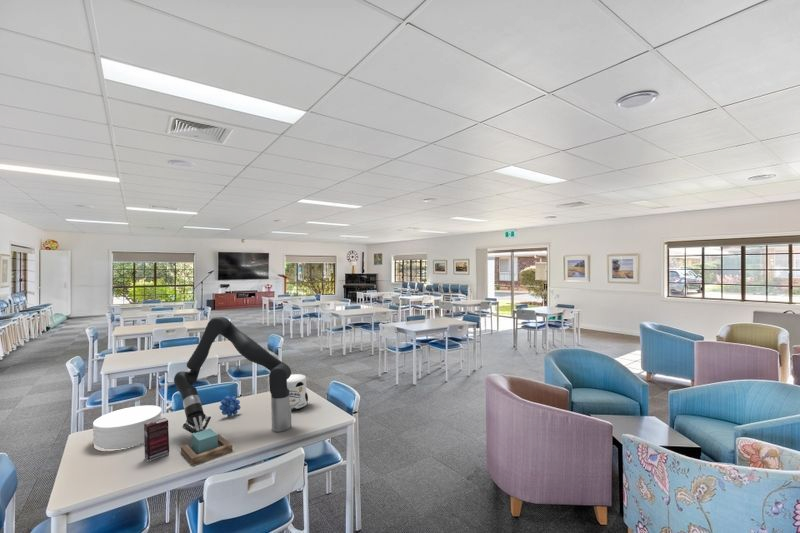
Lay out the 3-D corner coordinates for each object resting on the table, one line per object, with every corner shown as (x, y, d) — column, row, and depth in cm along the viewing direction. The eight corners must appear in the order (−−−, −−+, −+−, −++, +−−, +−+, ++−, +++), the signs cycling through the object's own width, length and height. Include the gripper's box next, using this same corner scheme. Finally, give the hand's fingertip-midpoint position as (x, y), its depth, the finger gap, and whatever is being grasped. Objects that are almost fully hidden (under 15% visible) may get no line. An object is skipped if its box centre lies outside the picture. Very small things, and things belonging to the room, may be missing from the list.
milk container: (286, 415, 212) (286, 384, 212) (273, 407, 225) (273, 377, 225) (313, 407, 224) (312, 377, 224) (299, 400, 237) (299, 372, 237)
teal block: (210, 444, 178) (210, 428, 178) (217, 451, 171) (217, 434, 171) (192, 451, 172) (191, 433, 172) (199, 458, 165) (199, 440, 165)
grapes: (222, 421, 205) (221, 400, 205) (218, 418, 210) (217, 397, 210) (243, 415, 213) (243, 394, 213) (238, 412, 218) (238, 392, 218)
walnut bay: (219, 440, 182) (219, 434, 182) (232, 451, 171) (232, 444, 171) (180, 452, 170) (180, 446, 170) (192, 465, 159) (192, 458, 159)
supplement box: (165, 451, 172) (165, 417, 172) (169, 454, 169) (168, 419, 169) (143, 458, 165) (143, 423, 165) (147, 462, 162) (147, 426, 162)
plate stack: (145, 422, 206) (145, 402, 206) (172, 433, 192) (172, 411, 192) (83, 443, 182) (83, 420, 182) (108, 457, 167) (108, 432, 168)
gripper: (179, 406, 177) (187, 439, 169) (208, 399, 187) (217, 430, 178) (176, 414, 181) (184, 447, 173) (205, 406, 191) (214, 437, 182)
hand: (201, 438), depth 175 cm, fingers closed
